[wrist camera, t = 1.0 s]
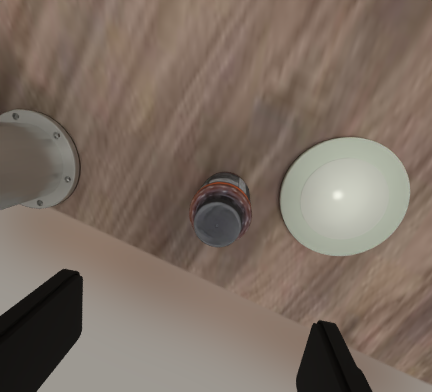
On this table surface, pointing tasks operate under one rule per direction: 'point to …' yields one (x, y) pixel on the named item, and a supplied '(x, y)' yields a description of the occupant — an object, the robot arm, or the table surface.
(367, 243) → the dish
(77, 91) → the table surface
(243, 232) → the supplement bottle
